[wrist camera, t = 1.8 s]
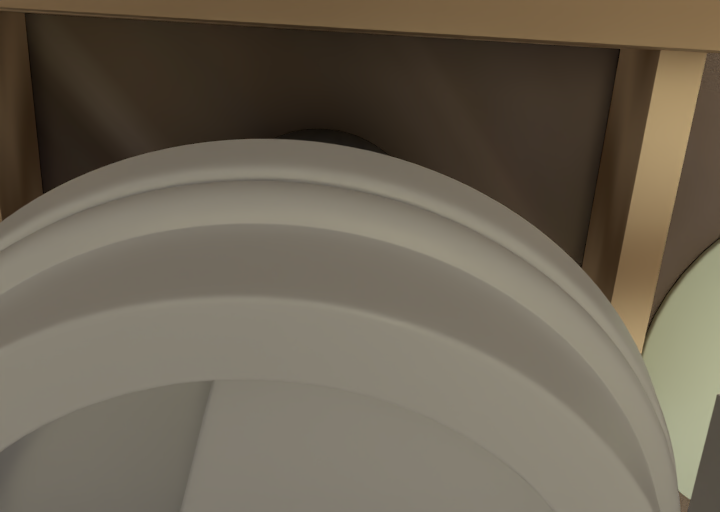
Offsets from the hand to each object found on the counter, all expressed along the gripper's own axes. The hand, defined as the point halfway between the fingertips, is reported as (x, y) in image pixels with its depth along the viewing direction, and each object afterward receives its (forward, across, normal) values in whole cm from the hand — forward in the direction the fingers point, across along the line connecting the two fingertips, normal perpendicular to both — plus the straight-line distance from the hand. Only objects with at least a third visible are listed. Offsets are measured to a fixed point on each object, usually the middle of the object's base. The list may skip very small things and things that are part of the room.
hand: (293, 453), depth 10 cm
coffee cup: (+11, 0, +1) cm, 11 cm away
